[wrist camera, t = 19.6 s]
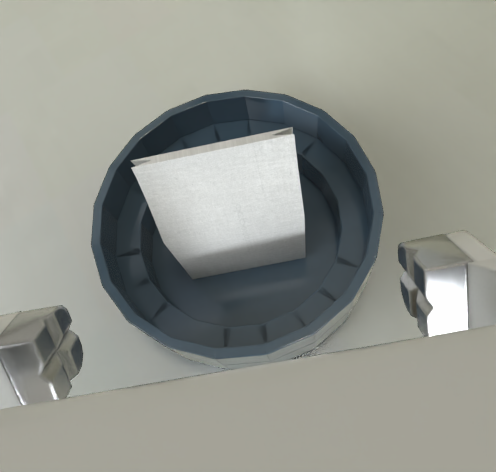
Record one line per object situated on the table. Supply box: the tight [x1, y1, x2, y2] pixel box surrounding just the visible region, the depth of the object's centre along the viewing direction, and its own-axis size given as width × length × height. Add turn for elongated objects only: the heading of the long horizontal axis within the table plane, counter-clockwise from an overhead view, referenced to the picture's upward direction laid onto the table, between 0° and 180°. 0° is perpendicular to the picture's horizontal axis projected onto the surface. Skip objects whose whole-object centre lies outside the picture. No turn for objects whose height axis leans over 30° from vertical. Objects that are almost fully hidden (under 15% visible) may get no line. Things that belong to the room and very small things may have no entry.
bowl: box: [91, 90, 384, 370], centre depth 26 cm, size 15×15×5 cm
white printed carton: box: [131, 127, 306, 279], centre depth 23 cm, size 4×7×10 cm, turn 99°
